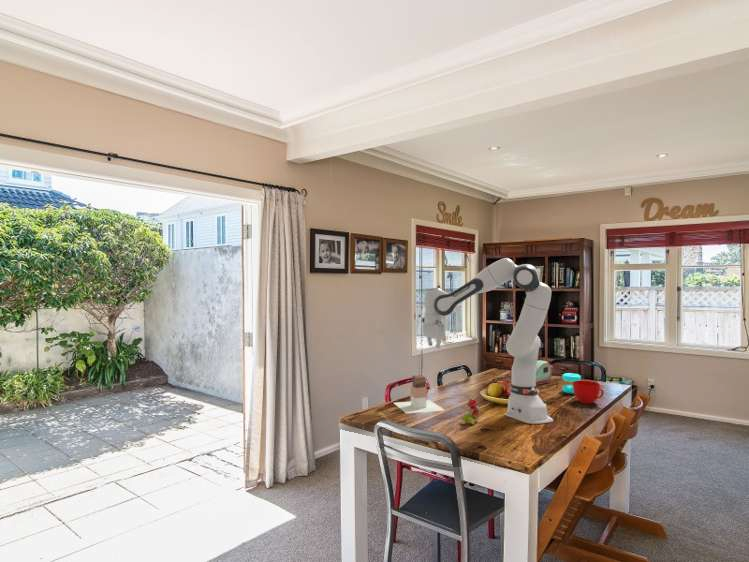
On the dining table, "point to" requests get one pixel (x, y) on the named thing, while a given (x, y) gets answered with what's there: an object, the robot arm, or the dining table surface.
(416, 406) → the block
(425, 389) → the block
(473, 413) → the bird rattle
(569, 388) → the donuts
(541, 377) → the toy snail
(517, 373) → the robot arm
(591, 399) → the ceramic cup
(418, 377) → the walnut cube
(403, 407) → the baseplate
